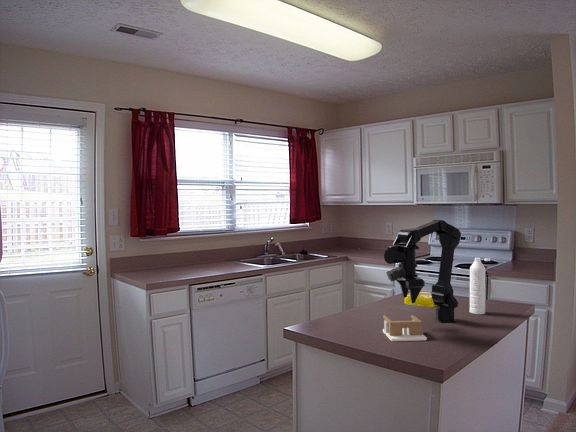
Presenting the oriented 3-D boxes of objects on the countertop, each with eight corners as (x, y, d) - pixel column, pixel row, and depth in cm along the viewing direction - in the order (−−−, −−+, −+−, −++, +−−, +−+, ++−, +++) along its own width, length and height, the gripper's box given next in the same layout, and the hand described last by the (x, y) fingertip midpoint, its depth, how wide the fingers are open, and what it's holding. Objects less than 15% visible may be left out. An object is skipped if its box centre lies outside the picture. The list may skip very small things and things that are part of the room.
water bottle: (467, 313, 196) (467, 257, 195) (472, 310, 201) (472, 256, 200) (487, 316, 190) (487, 259, 190) (492, 313, 195) (492, 258, 194)
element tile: (441, 302, 220) (442, 292, 219) (434, 308, 207) (434, 298, 207) (412, 298, 228) (412, 289, 228) (403, 304, 215) (403, 295, 215)
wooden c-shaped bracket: (383, 328, 171) (383, 315, 171) (413, 327, 172) (413, 314, 172) (390, 335, 161) (390, 322, 161) (422, 335, 162) (422, 321, 162)
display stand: (382, 331, 170) (382, 319, 170) (415, 330, 171) (415, 318, 171) (391, 341, 158) (391, 327, 158) (426, 340, 159) (426, 327, 159)
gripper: (381, 258, 181) (382, 295, 182) (395, 266, 163) (396, 307, 163) (407, 257, 182) (408, 294, 183) (424, 264, 163) (425, 305, 164)
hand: (408, 300), depth 173 cm, fingers open, 9 cm apart
